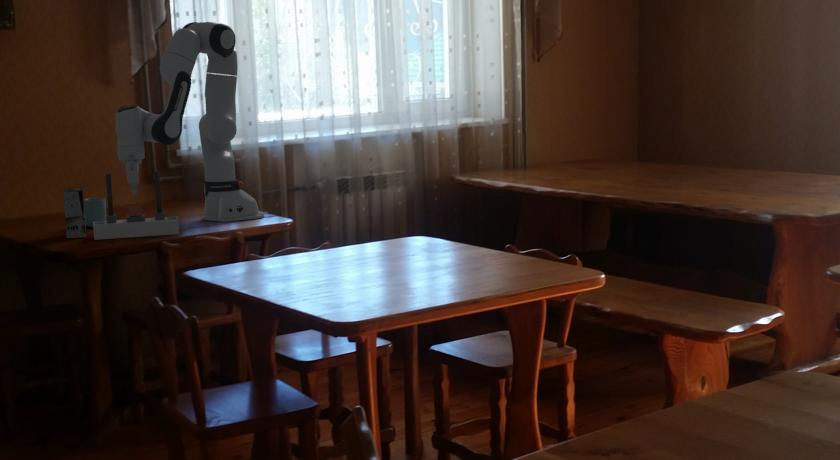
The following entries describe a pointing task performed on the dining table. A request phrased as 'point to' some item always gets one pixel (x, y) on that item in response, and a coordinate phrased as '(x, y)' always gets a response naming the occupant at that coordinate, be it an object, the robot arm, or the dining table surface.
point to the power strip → (135, 227)
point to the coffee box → (74, 212)
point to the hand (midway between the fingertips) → (134, 194)
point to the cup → (94, 210)
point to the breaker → (135, 210)
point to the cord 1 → (110, 201)
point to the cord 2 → (158, 198)
